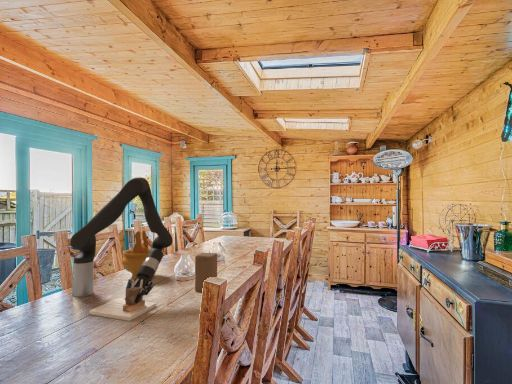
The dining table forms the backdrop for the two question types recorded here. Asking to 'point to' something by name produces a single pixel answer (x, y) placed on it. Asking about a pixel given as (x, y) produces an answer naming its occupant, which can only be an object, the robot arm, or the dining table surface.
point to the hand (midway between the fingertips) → (131, 302)
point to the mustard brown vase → (136, 255)
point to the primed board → (120, 310)
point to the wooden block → (204, 268)
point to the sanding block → (132, 300)
